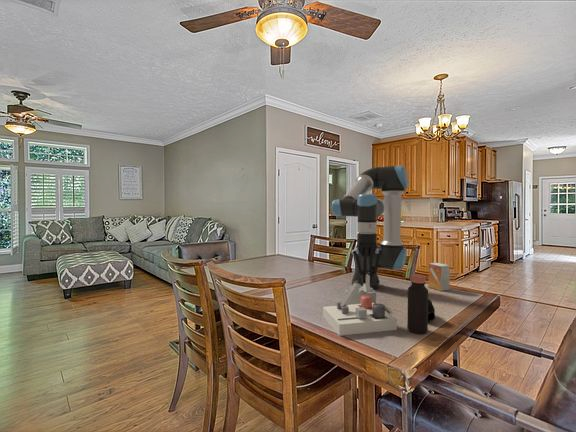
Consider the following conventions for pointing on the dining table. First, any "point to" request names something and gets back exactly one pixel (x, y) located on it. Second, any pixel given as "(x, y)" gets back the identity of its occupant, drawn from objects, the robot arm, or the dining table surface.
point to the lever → (350, 294)
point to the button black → (378, 311)
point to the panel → (356, 320)
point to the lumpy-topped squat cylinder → (359, 293)
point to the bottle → (417, 305)
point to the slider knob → (361, 312)
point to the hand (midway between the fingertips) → (366, 291)
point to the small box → (439, 276)
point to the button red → (366, 302)
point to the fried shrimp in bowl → (430, 311)
